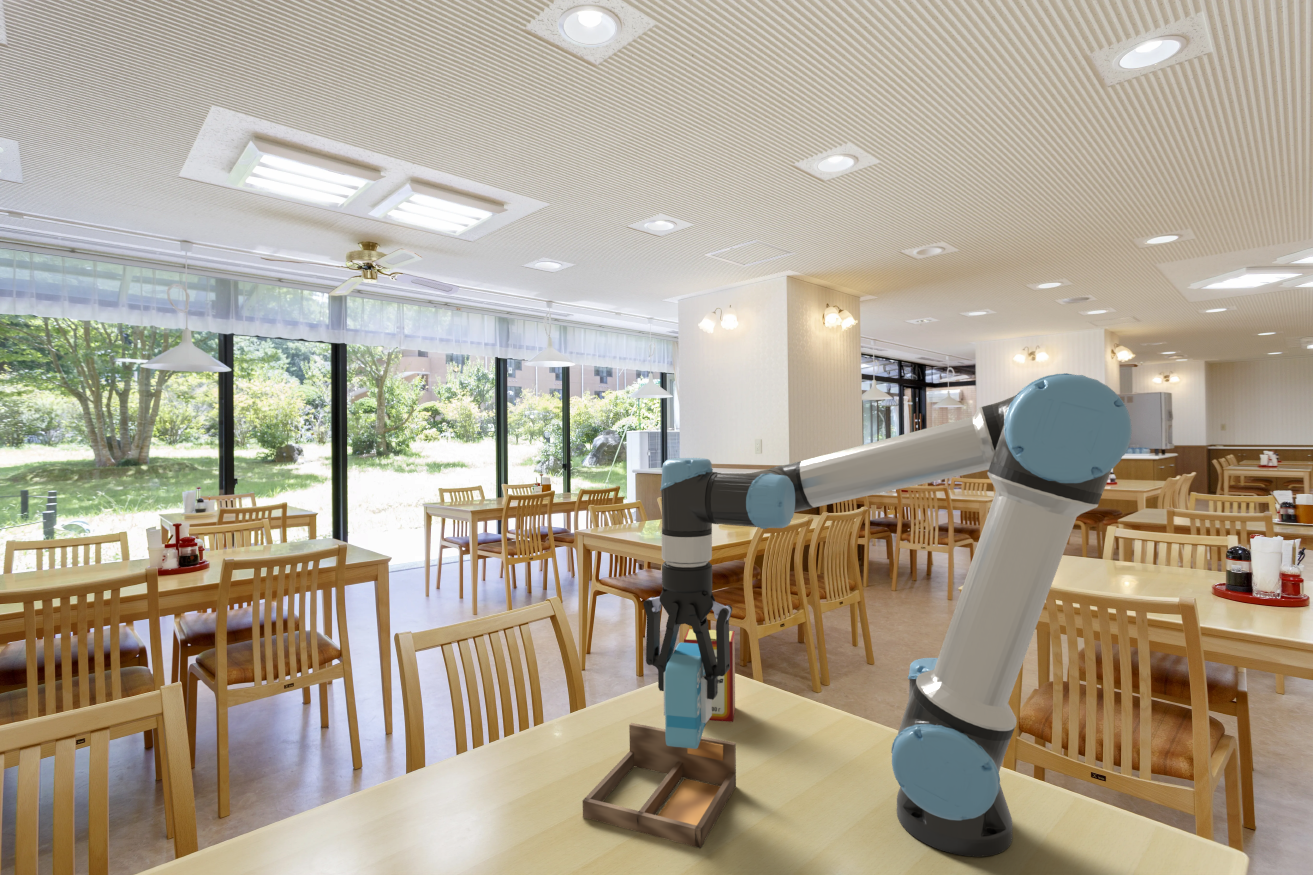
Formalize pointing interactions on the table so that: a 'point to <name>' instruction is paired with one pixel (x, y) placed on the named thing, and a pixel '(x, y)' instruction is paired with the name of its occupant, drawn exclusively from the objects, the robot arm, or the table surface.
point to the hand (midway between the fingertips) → (687, 715)
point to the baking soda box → (721, 680)
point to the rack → (670, 787)
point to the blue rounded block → (684, 697)
